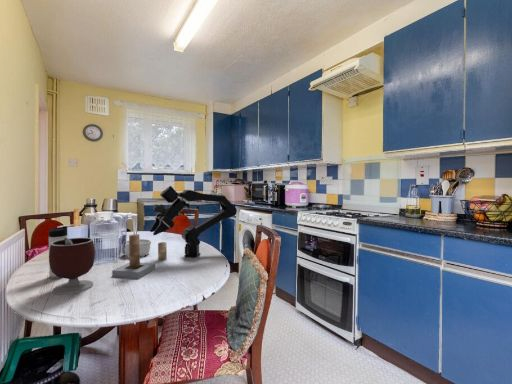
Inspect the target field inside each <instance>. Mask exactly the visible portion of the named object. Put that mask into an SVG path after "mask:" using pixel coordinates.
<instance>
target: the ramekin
mask: <svg viewBox="0 0 512 384" xmlns="http://www.w3.org/2000/svg"><path fill="white" fill-rule="evenodd" d="M151 244H152V240H151V239H147V238H145V239H144V238H140V258H141V257H145V255H146V256H148V255H149V253H150V250H151ZM124 253H125V256H126V257H128V258H129V240H126V244H125V248H124Z"/></svg>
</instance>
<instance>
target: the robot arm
mask: <svg viewBox="0 0 512 384" xmlns="http://www.w3.org/2000/svg"><path fill="white" fill-rule="evenodd" d="M159 196H160V197H161V198H162V199H163V200H165V201H166V203H168V204H171V205H170V206H167V207H165V205H164V204H162V203H161V204H159V205H158V204H156V203H154V206H153V208H152V210H153V211H154V212H157V213H156V214H155V217H154V218H155V221H154V222H153V224H152V226H151V228H150V230H149V232H150V233H152V234H153V236H157V235H159V234H161V233H163V232H166V231H168V230H170V229H172V228H174V226H175V222H174V221H173V220H174V219H175V218H176V217H179V216H180V215H179V214H180V213H181V212H182V211H183V210H184V209H185V208H186V209H190V203H189V202H198V201H206V202H214V203H215V202H216V203H219V205H220V208H221V209H220V210H219V211H218V213H216V214H214V215H213V216H210V218H207V219H206V220H204V221H202V222H201V223H199V224H198V225H195V226H194V225H192V224H190V225H189V226H188V227H185V228H184V229H183V231H182V232H181V238H182V240H184V242H185V246H184V256H183V257H187V258H189V257H190V258H197V257H198V256H200V255H201V252H200V243H201V240H200V239H199V237H200V235H201V234H203V232H205V231H207V230H209V229H210V228H212V227H213V226H215V225H216V224H218V223H219V222H221V221H223V220H225V219H230V218H232V217H235V216H236V215H237V212H238V209H237V207H236V206H234V205H233V204H232V203H231V201H229V200H228V198H227V197H226V196H225V195H223V194H220V195H219V194H210V193H201V192H199V191H196V190H192V189H184V190H183V191H182V192H177V191H176V190H175V189H174V187H173V186H171V185H169V186H168V187H166V188H165V189H164V190H162V192H160V194H159Z"/></svg>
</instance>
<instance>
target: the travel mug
mask: <svg viewBox="0 0 512 384" xmlns="http://www.w3.org/2000/svg"><path fill="white" fill-rule="evenodd" d="M64 238H68V239H69V237H68V226H66V225H63V226H60V227H59V226H58V227H53V228H50V229H49V230H48V251H49V250H50V246H51V243H52V242H54V241H58V240H63V239H64ZM48 264H49V263H48ZM48 266H49V269H48V270H49V278H50V279H52V280H58V279H61V278H60V277H57V276H56V275H55V274H54V273H53V272H52V271H51V268H50V264H49V265H48Z"/></svg>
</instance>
